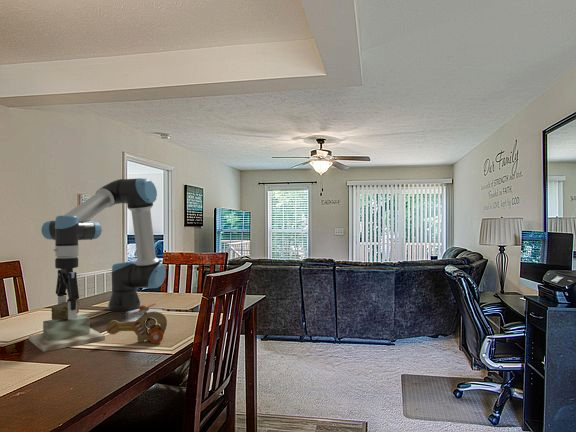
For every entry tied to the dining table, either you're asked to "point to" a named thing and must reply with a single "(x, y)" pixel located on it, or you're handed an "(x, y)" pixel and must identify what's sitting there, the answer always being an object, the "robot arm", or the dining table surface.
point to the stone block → (61, 311)
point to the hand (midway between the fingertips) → (67, 316)
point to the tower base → (65, 341)
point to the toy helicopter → (142, 325)
